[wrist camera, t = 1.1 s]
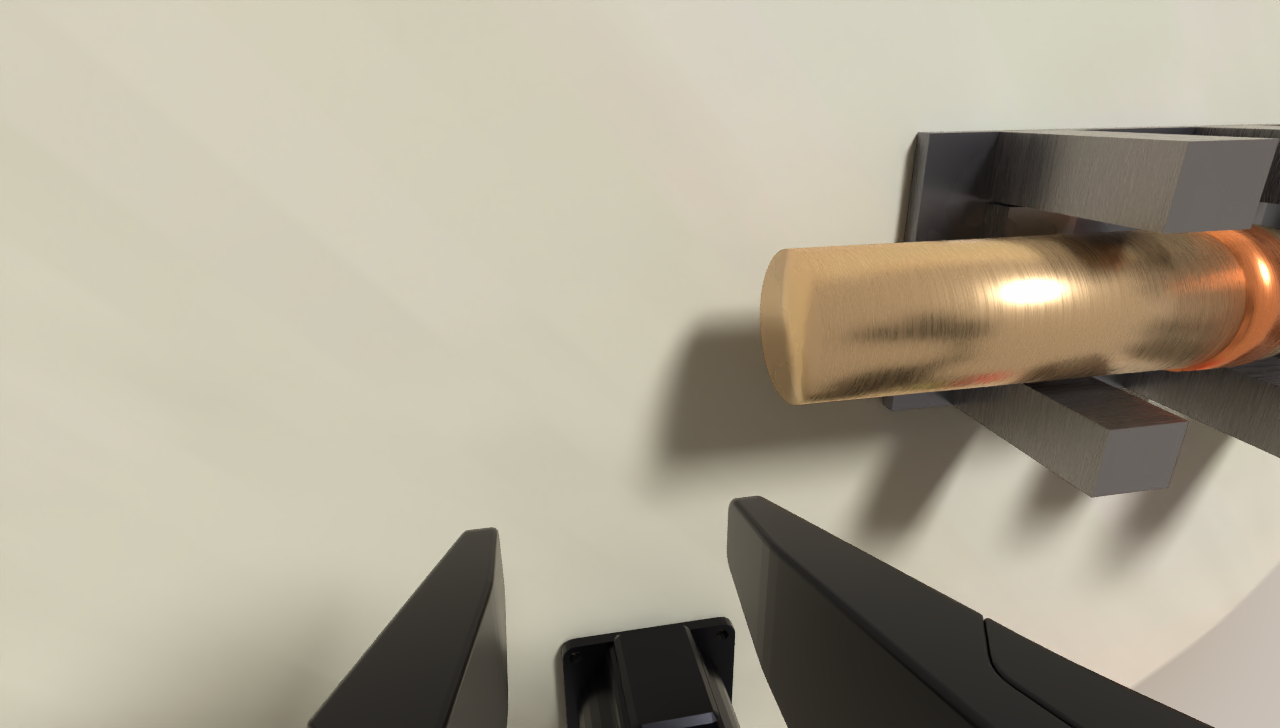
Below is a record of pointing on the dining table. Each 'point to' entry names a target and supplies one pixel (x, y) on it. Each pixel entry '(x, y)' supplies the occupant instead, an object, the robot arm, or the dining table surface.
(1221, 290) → the tube
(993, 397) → the grey holder rack
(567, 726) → the robot arm
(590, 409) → the dining table surface
